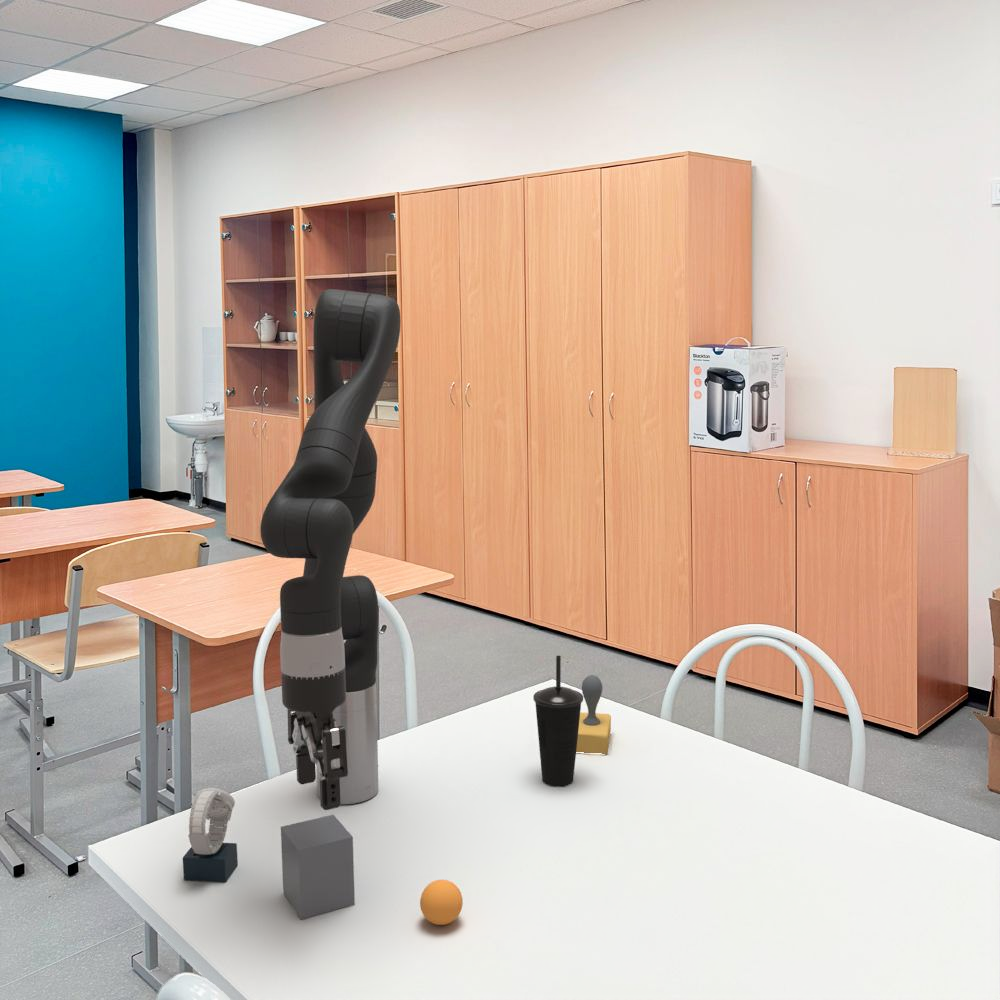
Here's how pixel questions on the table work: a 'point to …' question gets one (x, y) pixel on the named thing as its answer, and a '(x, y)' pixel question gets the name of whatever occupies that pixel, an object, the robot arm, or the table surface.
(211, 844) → the watch
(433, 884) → the ball
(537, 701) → the drinking cup
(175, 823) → the table surface
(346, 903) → the grey block
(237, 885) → the table surface
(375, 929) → the table surface
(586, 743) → the rubber stamp
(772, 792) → the table surface
